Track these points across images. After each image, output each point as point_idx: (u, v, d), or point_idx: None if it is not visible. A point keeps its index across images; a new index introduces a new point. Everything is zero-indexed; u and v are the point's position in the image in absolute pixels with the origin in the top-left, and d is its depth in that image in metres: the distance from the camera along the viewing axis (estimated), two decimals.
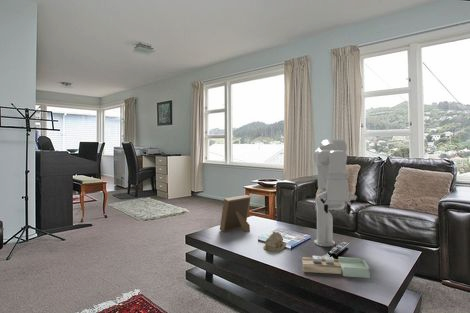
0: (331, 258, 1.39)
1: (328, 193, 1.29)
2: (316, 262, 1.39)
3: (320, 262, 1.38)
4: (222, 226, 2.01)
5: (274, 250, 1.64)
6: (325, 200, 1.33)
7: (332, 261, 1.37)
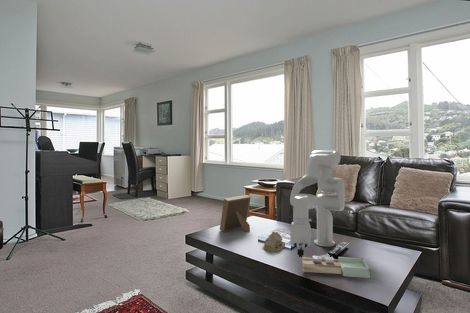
0: (331, 258, 1.39)
1: (292, 236, 1.40)
2: (316, 262, 1.39)
3: (320, 262, 1.38)
4: (222, 226, 2.01)
5: (273, 250, 1.64)
6: None
7: (332, 261, 1.37)
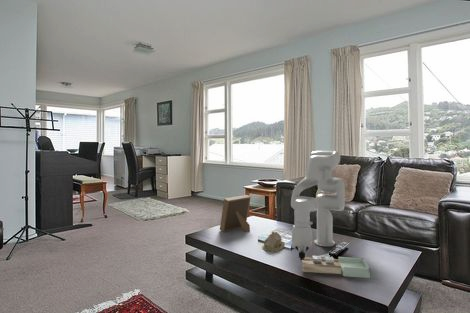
0: (331, 258, 1.39)
1: (293, 239, 1.40)
2: (316, 262, 1.39)
3: (320, 262, 1.38)
4: (222, 226, 2.01)
5: (273, 250, 1.64)
6: None
7: (332, 261, 1.37)
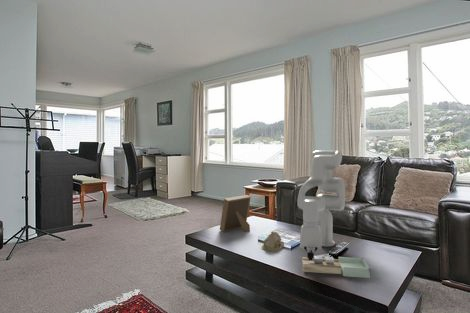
0: (331, 258, 1.39)
1: (302, 239, 1.39)
2: (317, 262, 1.38)
3: (321, 262, 1.38)
4: (222, 226, 2.01)
5: (273, 250, 1.64)
6: None
7: (332, 261, 1.37)
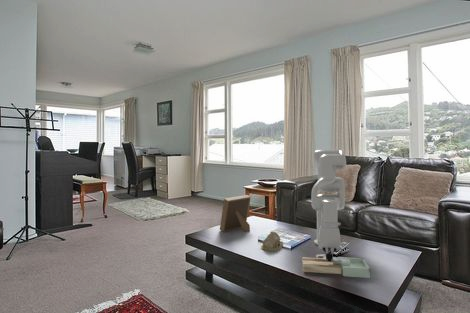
0: (347, 260, 1.37)
1: (320, 240, 1.38)
2: (336, 264, 1.37)
3: (340, 264, 1.36)
4: (222, 226, 2.01)
5: (272, 250, 1.64)
6: None
7: (348, 263, 1.36)
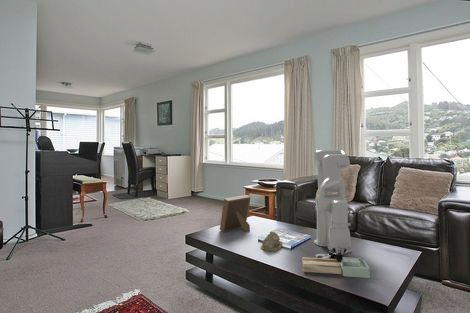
0: (356, 261, 1.37)
1: (330, 241, 1.37)
2: (346, 265, 1.36)
3: (350, 265, 1.35)
4: (222, 226, 2.01)
5: (272, 250, 1.64)
6: None
7: (358, 264, 1.35)
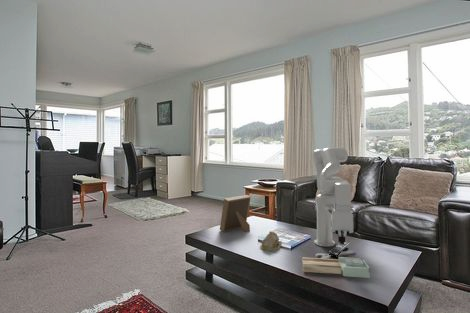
0: (359, 261, 1.36)
1: (333, 223, 1.37)
2: (349, 265, 1.36)
3: (353, 265, 1.35)
4: (222, 226, 2.01)
5: (272, 250, 1.64)
6: None
7: (361, 264, 1.35)
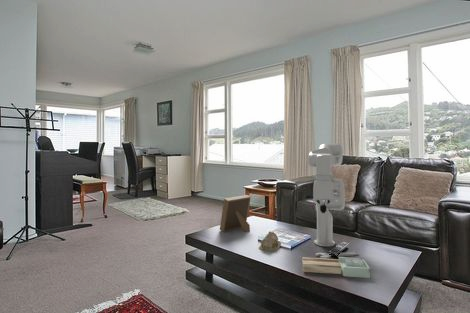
0: (359, 261, 1.36)
1: (315, 192, 1.45)
2: (349, 265, 1.36)
3: (353, 265, 1.35)
4: (222, 226, 2.01)
5: (271, 250, 1.64)
6: None
7: (361, 264, 1.35)
